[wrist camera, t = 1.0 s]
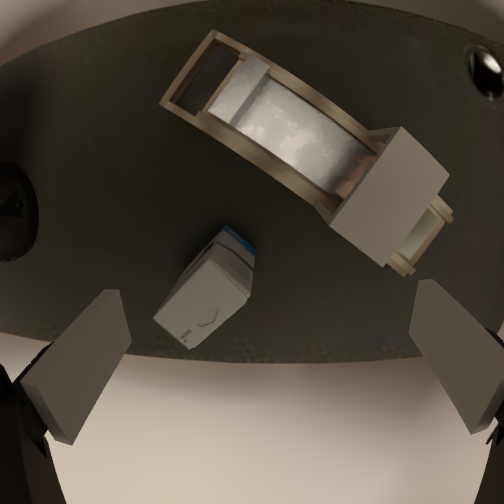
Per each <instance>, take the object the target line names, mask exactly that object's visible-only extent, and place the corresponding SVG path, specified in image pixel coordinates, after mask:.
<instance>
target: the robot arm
mask: <svg viewBox="0 0 504 504" xmlns="http://www.w3.org/2000/svg"><path fill="white" fill-rule="evenodd" d="M37 228H38V209H37V202H36V198H35V194H34V191H33V188H32V186H31V183H30V181H29V179H28V178H27V176H26V175H25V173H24V172H23V171H22V170H21V169H20V168H19V167H18V166H16V165H14V164H12V163H8V162H4V163H0V261H1V262H10V261H13V260H16V259H17V258H19V257H21V256H23V255H24V254H26V253H27V252H28V251H29V250H30V248H31V247H32V245H33V243H34V240H35V237H36V233H37ZM409 335H410V336H411V338H412V339H413V341H414V342H415V344H416V345H417V347H418V348H419V350H420V351H421V353H422V354H423V356H424V357H425V359H426V360H427V362H428V364H429V365H430V367H431V368H432V370H433V372H434V373H435V375H436V376H437V378H438V379H439V381H440V382H441V384H442V386H443V388H444V389H445V391H446V392H447V394H448V396H449V397H450V399H451V401H452V402H453V404H454V406H455V407H456V409H457V411H458V413H459V414H460V416H461V418H462V419H463V421H464V423H465V425H466V427H467V428H468V430H469V432H470V433H471V435H472V434H475V433H477V432H480V431H482V430H485V429H487V428H488V427H489V425H490V423H491V422H492V420H493V418H494V417H495V418H496V419H497V421H498V422H499V423H498V425H497V426H496V427H495V429H494V431H493V432H492V434H491V435H490V437H489V438H488V440H487V442H486V444H488V443H489V442H490V441H491V440H492V439H493V440H492V444H491V449H490V453H489V457H488V461H487V464H486V468H485V472H484V475H483V478H482V482H481V485H480V488H479V491H478V494H477V497H476V499H475V502H474V504H504V343H503V340H502V339H500V337H499V336H498V335H497V334H496V333H494V332H492V331H490V330H489V329H487V328H483V327H482V326H481V325H480V324H479V323H478V322H477V321H476V320H475V319H474V318H473V317H472V316H471V315H470V314H469V313H468V312H467V311H466V310H465V309H464V308H463V307H462V306H461V305H460V304H459V303H458V302H457V301H456V300H455V299H454V298H453V297H452V296H451V295H449V294H448V293H447V292H446V291H445V290H444V289H443V288H442V287H441V286H440V285H439V284H437V283H436V282H435V281H434V280H433V279H428V280H419V281H418V287H417V293H416V298H415V304H414V309H413V314H412V319H411V324H410V328H409ZM131 342H132V340H131V336H130V332H129V329H128V325H127V321H126V317H125V313H124V309H123V305H122V300H121V296H120V292H119V290H112V289H105V290H104V291H103V292H102V293H101V294H100V295H99V296H98V297H97V298H96V299H95V300H94V301H93V302H92V303H91V304H90V305H89V306H88V307H87V308H86V309H85V310H84V311H83V312H82V313H81V314H80V315H79V316H78V317H77V318H76V319H75V320H74V321H73V322H72V324H71V325H70V326H69V327H68V328H67V329H66V330H65V331H64V332H63V333H62V334H61V335H60V336H59V338H58V339H57V340H56V341H55V342H52V343H51V344H49V345H48V346H46V347H44V348H43V349H42V350H41V351H40V352H39V353H38V355H37V356H36V358H34V359H33V360H32V361H31V364H29V365H28V366H27V367H26V368H25V369H24V370H23V371H22V373H21V374H20V375H19V376H18V377H17V378H16V380H15V381H14V382H13V383H12V382H11V380H10V378H9V376H8V374H7V372H6V371H5V368H4V367H3V366H2V365H1V364H0V504H66V501H65V498H64V495H63V492H62V489H61V486H60V484H59V481H58V477H57V474H56V471H55V467H54V464H53V460H52V456H51V452H50V449H49V444H48V442H47V440H46V438H45V436H44V435H45V433H46V432H47V430H49V432H50V433H51V435H52V436H53V437H54V439H55V440H56V441H59V442H62V443H65V444H69V445H73V443H74V441H75V439H76V437H77V436H78V433H79V432H80V430H81V428H82V426H83V424H84V423H85V421H86V419H87V417H88V415H89V414H90V412H91V410H92V408H93V407H94V405H95V403H96V401H97V400H98V398H99V396H100V394H101V393H102V391H103V389H104V387H105V386H106V384H107V382H108V381H109V379H110V377H111V375H112V374H113V372H114V370H115V369H116V367H117V365H118V364H119V362H120V360H121V359H122V357H123V355H124V354H125V352H126V350H127V349H128V347H129V346H130V344H131Z"/></svg>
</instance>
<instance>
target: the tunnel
mask: <svg viewBox="0 0 504 504" xmlns="http://www.w3.org/2000/svg"><path fill="white" fill-rule="evenodd" d="M366 136H368V137H369V138H370V139H371V140H372V141H374V142H375V143H378V142H386V143H385V144H384V146H383V147H382V148H381V150H380V151H379V153H378V154H377V155H376V157H375V158H374V160H373V161H372V162H371V164H370V165H369V166H368V168H367V169H366V171H365V172H364V173H363V175H362V176H361V178H360V179H359V180H358V182H357V183H356V184H355V186H354V187H353V188H352V190H351V191H350V192H349V194H348V195H347V197H346V198H345V199H344V201H343V202H342V203H341V205H340V206H339V207H338V209H337V210H336V211H335V213H334V212H333V211H331V210H330V209H329V208H327V207H326V206H325V205H323V204H322V203H321V202H319V201H317V202H316V204H315V205H314V207H315V209H316V210H317V211H318V213H319V214H320V215H321V216H322V218H323V219H324V220H325V221H326V223H327V224H328V225H329V226H330V227H331V228H332V229H334V230H335V231H336V232H338V233H339V234H340V235H342V236H343V237H344V238H346V239H347V240H348V241H350V242H351V243H352V244H353V245H355V246H356V247H357V248H359V249H360V250H361V251H362V252H364V253H365V254H366V255H368V256H369V257H370V258H371V259H373V260H374V261H375V262H376V263H378V264H379V265H380V266H381V267H383V266H384V265H385V264H386V262H387V261H388V260H389V259H390V257H391V256H392V255H393V254H394V252H395V251H396V250H397V248H398V247H399V246H400V245H401V243H402V242H403V241H404V239H405V238H406V237H407V235H408V234H409V233H410V231H411V230H412V229H413V227H414V226H415V224H416V223H417V222H418V220H419V219H420V218H421V216H422V215H423V213H424V212H425V211H426V209H427V208H428V206H429V205H430V203H431V202H432V201H433V199H434V198H435V196H436V195H437V193H438V192H439V190H440V189H441V187H442V186H443V184H444V183H445V181H446V180H447V178H448V177H449V173H448V172H447V171H446V170H445V169H444V168H443V167H442V166H441V165H440V164H439V163H438V162H437V161H436V160H435V159H434V158H433V156H432V155H431V154H430V153H429V152H428V151H427V150H426V149H425V148H424V147H423V146H422V145H421V144H420V143H418V142H417V141H416V140H415V139H414V138H413V137H412V136H411V135H410V134H409V133H408V132H407V131H406V130H405V129H404V128H403V127H401V126H400V127H393V128H385V129H378V130H371V131H368V133H367V134H366Z"/></svg>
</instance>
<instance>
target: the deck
mask: <svg viewBox="0 0 504 504" xmlns="http://www.w3.org/2000/svg"><path fill="white" fill-rule="evenodd" d="M250 54H251V55H253V56H254V57H256V58H258V59H259V60H261V61H263V62H264V63H266V64H268V65H269V66H271V69H270V80H272V81H274V82H275V83H277V84H278V85H280V86H281V87H283V88H284V89H286V90H288V91H289V92H291V93H292V94H294V95H295V96H296V97H298V98H299V99H301V100H302V101H304V102H305V103H307V104H308V105H309V106H311V107H312V108H314V109H315V110H316V111H318V112H319V113H321V114H322V115H323V116H325V117H326V118H327V119H329V120H330V121H331V122H333V123H334V124H335V125H337V126H338V127H339V128H341V129H342V130H343V131H345V132H346V133H347V134H348V135H350V136H351V137H352V138H353V139H355V140H356V141H357V142H358V143H360V144H361V145H362V146H363V147H364V148H366V149H367V150H368V151H369V152H370V153H372V154H373V155H374V156H376V155H377V154H378V153H379V151H380V150H381V148H382V147H383V146H384V143H382V142H378V143H375V142H374V141H372V140H371V139H370V138H369V137H368V136H366V134H367V133H368V130H367V129H366V128H365V127H363V126H362V125H361V124H360V123H358V122H357V121H356V120H355V119H353V118H352V117H351V116H350V115H348V114H347V113H346V112H344V111H343V110H342V109H340V108H339V107H338V106H336V105H335V104H334V103H332V102H331V101H330V100H328V99H327V98H326V97H324V96H323V95H321V94H320V93H319V92H317V91H316V90H314V89H313V88H312V87H310V86H309V85H307V84H306V83H304V82H303V81H301V80H300V79H298V78H297V77H295V76H294V75H292V74H291V73H289V72H288V71H286V70H284V69H283V68H281V67H280V66H278V65H276V64H275V63H273V62H272V61H270V60H268V59H267V58H265V57H263V56H262V55H260V54H258V53H256V52H255V51H253V50H251V49H249V48H248V47H246V46H244V45H242V44H240V43H239V42H237V41H235V40H233V39H231V38H229V37H227V36H225V35H224V34H222V33H220V32H218V31H216V30H214V29H212V30H211V32H210V33H209V34H208V35H207V37H206V38H205V39H204V41H203V42H202V43H201V44H200V46H199V47H198V48H197V50H196V51H195V52H194V54H193V55H192V56H191V58H190V59H189V60H188V62H187V63H186V64H185V66H184V67H183V69H182V70H181V71H180V73H179V74H178V76H177V77H176V79H175V80H174V81H173V83H172V84H171V86H170V87H169V89H168V90H167V92H166V93H165V95H164V96H163V98H162V99H161V101H160V102H159V105H161V106H163V107H164V108H166V109H168V110H169V111H171V112H173V113H175V114H176V115H178V116H179V117H181V118H183V119H184V120H186V121H188V122H189V123H191V124H193V125H194V126H196V127H197V128H199V129H201V130H202V131H204V132H205V133H207V134H209V135H210V136H212V137H213V138H215V139H216V140H218V141H220V142H221V143H223V144H224V145H226V146H227V147H229V148H230V149H232V150H233V151H235V152H236V153H238V154H239V155H241V156H242V157H244V158H245V159H247V160H248V161H250V162H251V163H253V164H254V165H256V166H257V167H259V168H260V169H262V170H263V171H265V172H266V173H268V174H269V175H270V176H272V177H273V178H275V179H276V180H278V181H279V182H280V183H282V184H283V185H285V186H286V187H288V188H289V189H290V190H292V191H293V192H295V193H296V194H297V195H299V196H300V197H302V198H303V199H304V200H306V201H307V202H308V203H310V204H311V205H312V206H314V205H315V204H316V202H317V201H319V202H321V203H322V204H323V205H325V206H326V207H327V208H329V209H330V210H331V211H333V212H334V213H335V211H336V210H337V209H338V207H339V206H340V205H341V203H340V202H339V201H338V200H336V199H335V198H334V197H332V196H331V195H330V194H328V193H327V192H326V191H324V190H323V189H322V188H320V187H319V186H318V185H316V184H315V183H314V182H312V181H311V180H310V179H308V178H307V177H306V176H304V175H303V174H301V173H300V172H299V171H297V170H296V169H295V168H293V167H292V166H290V165H289V164H288V163H286V162H285V161H283V160H282V159H280V158H279V157H278V156H276V155H275V154H273V153H272V152H270V151H269V150H267V149H266V148H264V147H263V146H261V145H260V144H258V143H257V142H255V141H254V140H252V139H251V138H249V137H248V136H246V135H245V134H243V133H242V132H240V131H239V130H237V129H236V128H234V127H233V126H231V125H229V124H228V123H226V122H225V121H223V120H221V119H220V118H218V117H217V116H215V115H214V114H212V113H210V112H209V111H208V110H209V109H210V108H211V106H212V105H213V103H214V102H215V100H216V99H217V98H218V96H219V95H220V93H221V92H222V91H223V89H224V88H225V86H226V85H227V84H228V82H229V81H230V80H231V78H232V77H233V76H234V74H235V73H236V72H237V70H238V69H239V68H240V66H241V65H242V64H243V62H244V61H245V60H246V59H247V57H248V56H249V55H250ZM452 212H453V211H452V210H451V209H450V208H449V207H448V206H447V204H446V203H445V202H444V201H443V200H442V199H441V198H440V197H439V196H438V195H436V196H435V198H434V199H433V201H432V202H431V203H430V205H429V206H428V208H427V209H426V211H425V212H424V213H423V215H422V216H421V218H420V219H419V220H418V222H417V223H416V224H415V226H414V227H413V229H412V230H411V231H410V233H409V234H408V235H407V237H406V238H405V239H404V241H403V242H402V243H401V245H400V246H399V247H398V248H397V250H396V251H395V252H394V254H393V255H392V256H391V257H390V259H389V260H388V261H387V262H386V263H387V264H388V265H390V266H391V267H392V268H393V269H394V270H396V271H397V272H398V273H399V274H400V275H402V276H403V277H405V275H406V274H407V273H409V274H410V275H412V274H413V273H414V272H415V269H414V268H413V265H414V264H415V263H416V261H417V260H418V259H419V258H420V256H421V255H422V254H423V252H424V251H425V250H426V248H427V247H428V246H429V244H430V243H431V242H432V240H433V239H434V238H435V236H436V235H437V233H438V232H439V231H440V229H441V228H442V226H443V225H444V224H445V222H447V223H449V224H450V223H451V222H452V220H453V217H452V216H451V213H452Z"/></svg>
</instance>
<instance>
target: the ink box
mask: <svg viewBox="0 0 504 504" xmlns="http://www.w3.org/2000/svg"><path fill="white" fill-rule="evenodd" d="M255 254H256V250H255V249H254V248H253V247H252V246H251V245H250V244H249V243H248V242H247V241H246V240H244V239H243V238H242V237H241V236H240V235H239V234H237V233H236V232H235V231H234V230H233V229H232V228H230V227H229V226H228V225H225V226H224V227H223V228H222V230H221V231H220V232H219V233H218V234H217V235H216V236H215V237H214V238H213V239H212V240H211V241H210V242H209V244H208V245H207V246H206V247H205V248H204V249H203V250H202V251H201V252H200V253H199V255H198V256H197V257H196V258H195V259H194V260H193V261H192V262H191V263H190V264H189V266H188V267H187V268H186V269H185V270H184V271H183V273H182V275H181V276H180V278H179V279H178V281H177V282H176V284H175V285H174V287H173V288H172V290H171V291H170V293H169V294H168V296H167V297H166V299H165V301H164V302H163V304H162V305H161V307H160V308H159V310H158V311H157V313H156V314H155V316H154V317H153V319H154V320H155V321H156V322H157V323H158V324H159V325H160V326H161V327H163V328H164V329H165V330H166V331H167V332H168V333H170V334H171V335H172V336H173V337H174V338H176V339H177V340H178V341H179V342H180V343H182V344H183V345H184V346H186V347H187V348H188V349H189V350H190V349H191V348H194V347H196V346H197V345H198V344H199V343H200V342H202V341H203V340H204V339H205V338H206V337H207V336H208V335H209V334H210V333H211V332H213V331H214V330H215V329H217V328H218V327H219V326H220V325H221V324H222V323H223V322H224V321H225V320H226V319H228V318H229V317H230V316H231V315H233V314H234V313H235V312H236V311H237V310H238V309H239V308H240V307H241V306H243V305H244V304H245V303H246V301H247V298H249V297H250V295H251V287H252V279H253V270H254V262H255Z"/></svg>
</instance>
